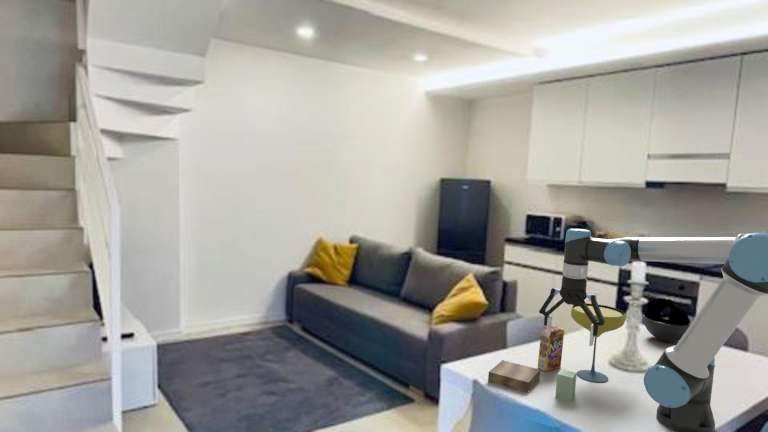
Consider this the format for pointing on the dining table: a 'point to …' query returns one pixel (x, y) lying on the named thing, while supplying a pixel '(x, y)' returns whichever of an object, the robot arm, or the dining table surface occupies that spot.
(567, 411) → the dining table surface
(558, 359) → the candy box
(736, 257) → the robot arm
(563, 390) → the sage block
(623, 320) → the cocktail glass
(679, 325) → the coal bowl
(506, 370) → the walnut plinth
